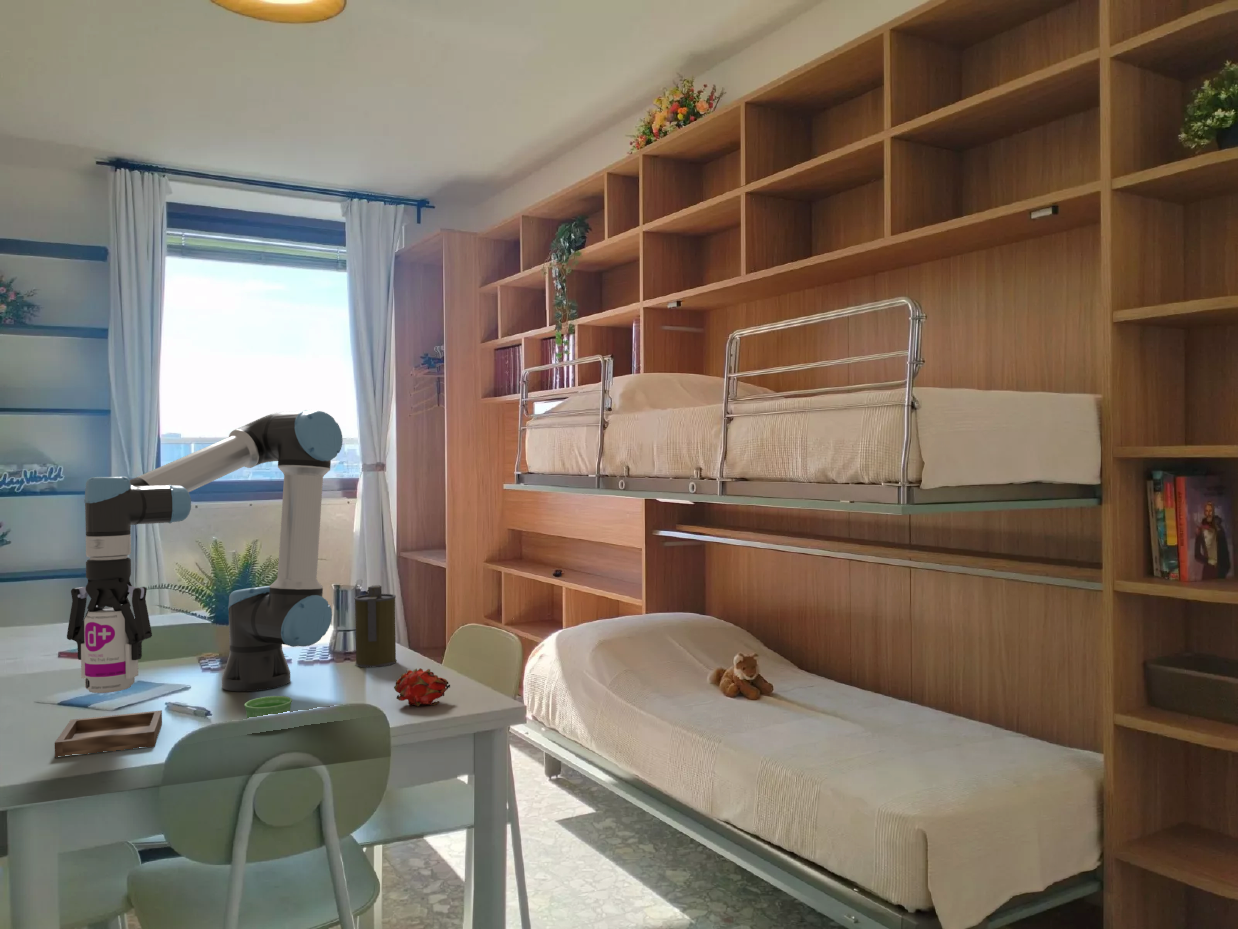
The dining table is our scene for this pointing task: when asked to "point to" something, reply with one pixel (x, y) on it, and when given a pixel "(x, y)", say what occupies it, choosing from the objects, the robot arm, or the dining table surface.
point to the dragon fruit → (420, 687)
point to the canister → (375, 628)
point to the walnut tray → (109, 733)
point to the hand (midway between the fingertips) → (109, 676)
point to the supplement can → (105, 651)
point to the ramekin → (267, 706)
